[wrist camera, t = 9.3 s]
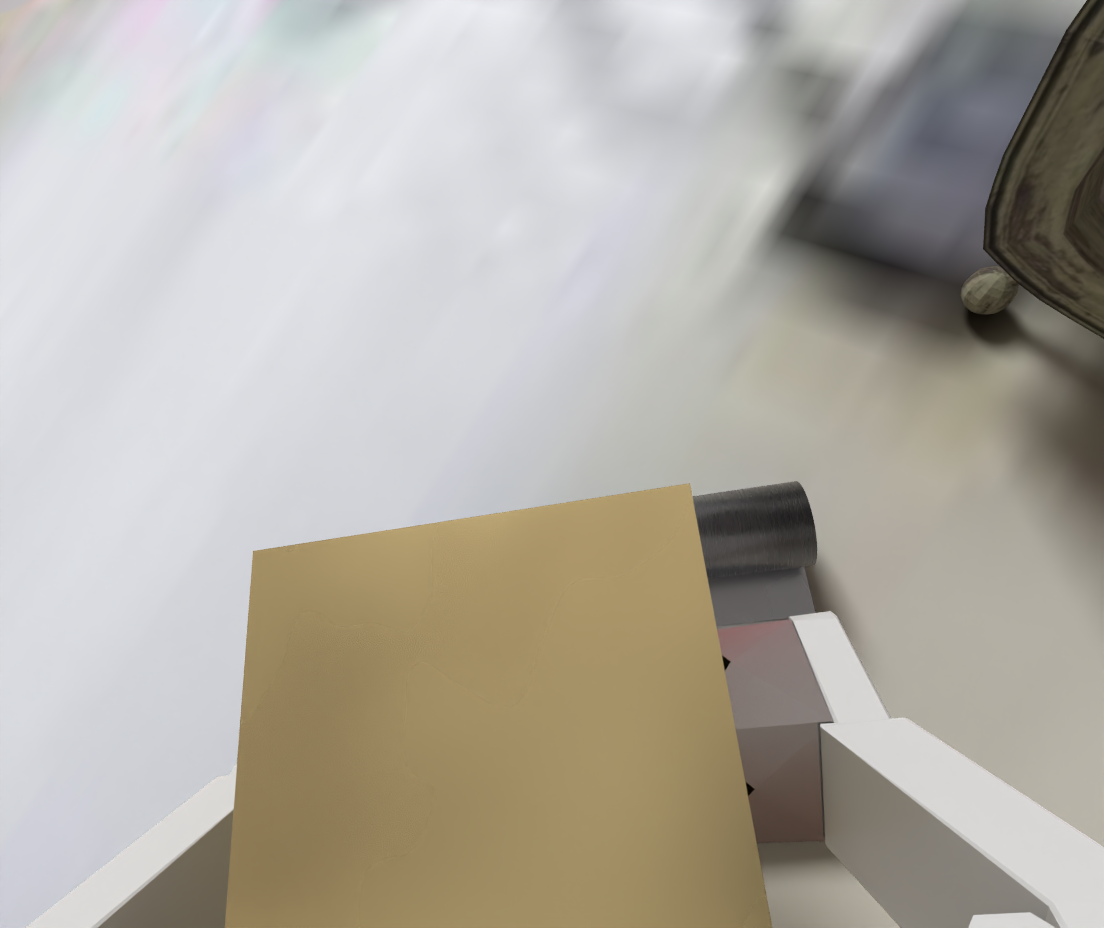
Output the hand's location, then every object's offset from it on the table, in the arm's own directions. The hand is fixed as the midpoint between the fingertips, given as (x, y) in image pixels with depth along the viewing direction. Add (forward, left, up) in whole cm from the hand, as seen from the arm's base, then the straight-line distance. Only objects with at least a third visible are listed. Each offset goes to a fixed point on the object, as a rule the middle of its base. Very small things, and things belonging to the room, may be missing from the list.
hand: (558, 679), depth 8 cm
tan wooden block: (0, -1, -4) cm, 4 cm away
